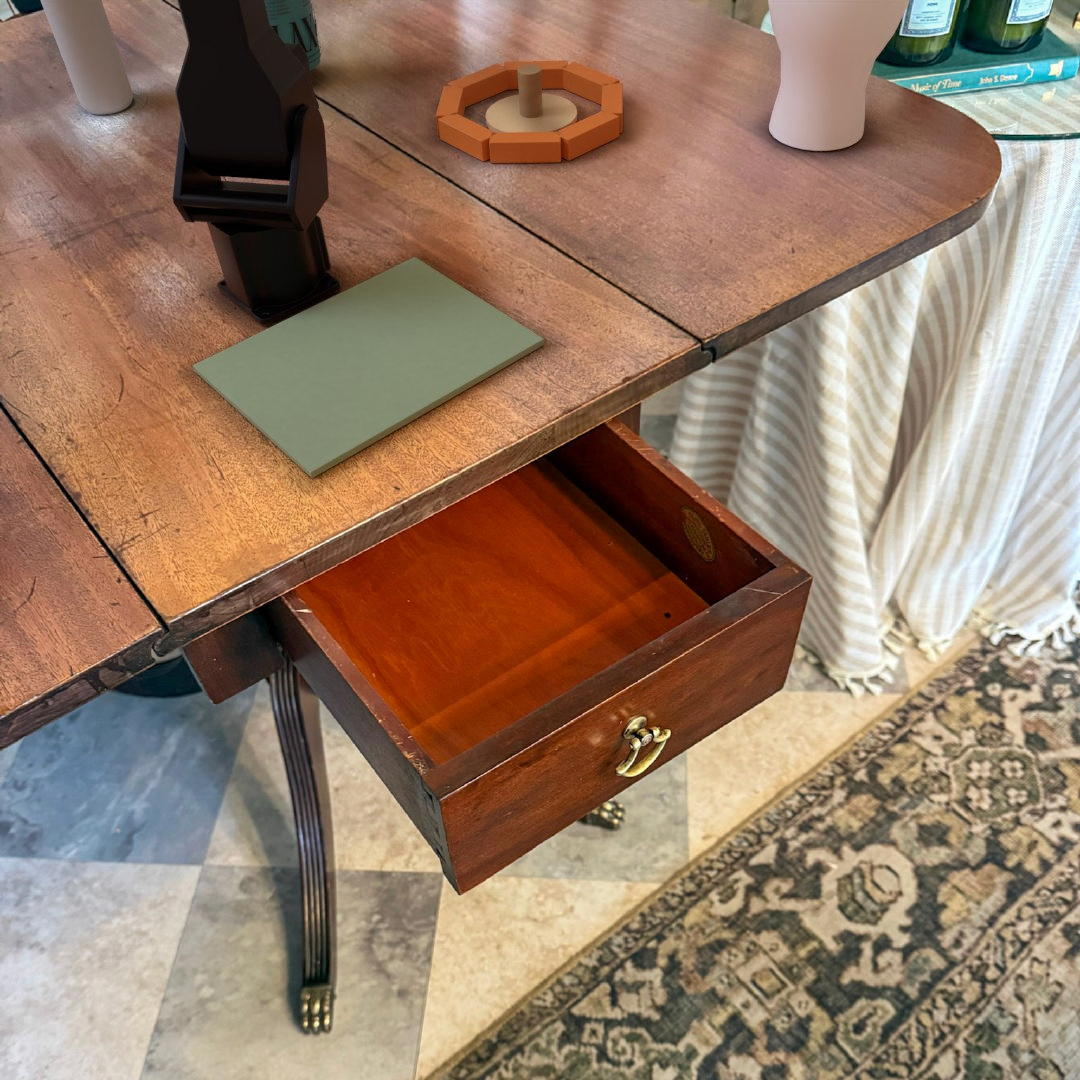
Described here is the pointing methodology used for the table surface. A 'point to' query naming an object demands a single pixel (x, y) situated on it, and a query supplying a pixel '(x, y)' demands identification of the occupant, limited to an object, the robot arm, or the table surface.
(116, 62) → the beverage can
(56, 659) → the table surface
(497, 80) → the ring
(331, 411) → the mat
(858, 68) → the pale pink vase
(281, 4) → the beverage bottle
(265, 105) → the robot arm
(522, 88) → the stand
